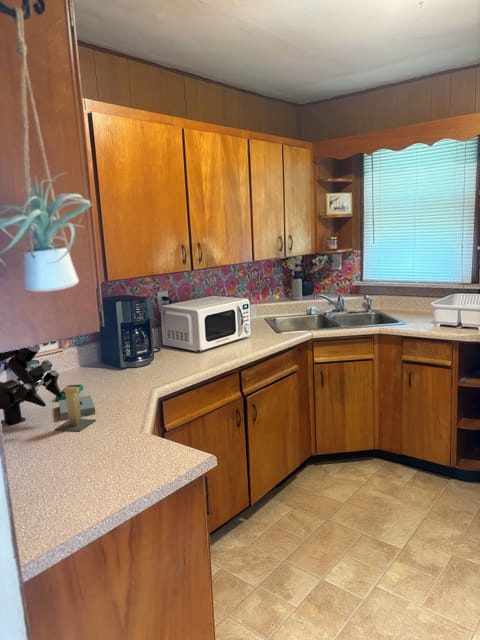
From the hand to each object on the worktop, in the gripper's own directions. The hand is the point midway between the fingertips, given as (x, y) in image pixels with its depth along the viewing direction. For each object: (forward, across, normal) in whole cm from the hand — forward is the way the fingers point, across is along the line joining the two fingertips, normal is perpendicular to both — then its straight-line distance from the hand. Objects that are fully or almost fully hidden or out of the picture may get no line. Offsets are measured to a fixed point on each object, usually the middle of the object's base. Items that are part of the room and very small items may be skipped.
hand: (53, 401), depth 170 cm
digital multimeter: (-4, +30, +17) cm, 35 cm away
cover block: (+5, +14, +7) cm, 16 cm away
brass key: (+11, 0, 0) cm, 11 cm away
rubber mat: (+12, 0, 0) cm, 12 cm away
